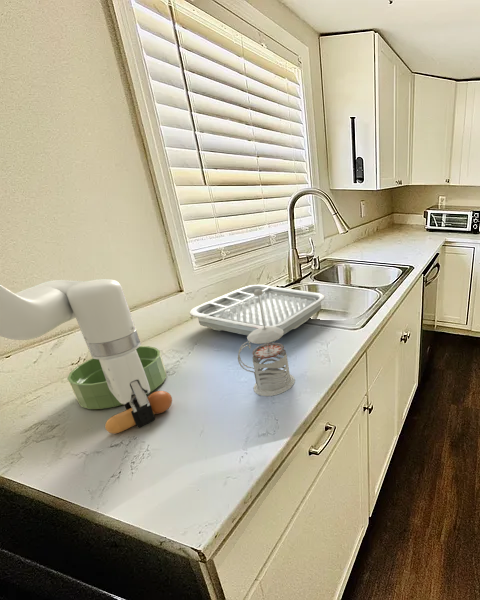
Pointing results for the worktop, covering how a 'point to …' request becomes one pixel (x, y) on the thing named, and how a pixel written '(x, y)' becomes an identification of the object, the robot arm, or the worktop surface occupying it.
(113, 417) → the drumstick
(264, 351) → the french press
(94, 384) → the green shallow bowl
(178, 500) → the worktop surface
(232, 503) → the worktop surface
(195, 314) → the dish rack
